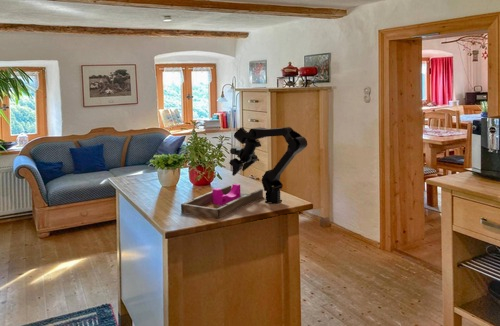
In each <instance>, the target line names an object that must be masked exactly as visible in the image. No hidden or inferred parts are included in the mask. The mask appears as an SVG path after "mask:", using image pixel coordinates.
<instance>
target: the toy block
mask: <svg viewBox="0 0 500 326" xmlns="http://www.w3.org/2000/svg"><path fill="white" fill-rule="evenodd" d="M231 187H232V189H231V191H230V192H229V193H228V194H226V195H224V194H223V193H222V189H221V188H218V187H216V188H212V191H213V201H212V203H213V204H214V205H218V206H224V205H226V203H229V202H231V201H233V200H235V199H238V198H240V197H241V193H242V192H241V184H238V183H233V184H232V185H231Z"/></svg>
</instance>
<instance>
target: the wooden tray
mask: <svg viewBox="0 0 500 326" xmlns="http://www.w3.org/2000/svg"><path fill="white" fill-rule="evenodd" d="M220 189H222V193H223V194H224V195H226V194H228V193H229V192H230V191H231V189H232V185H230V184H229V185H226V186H224V187H221V188H220ZM263 191H264V188H259V189H257V190H255V191H253V192H251V193H242V192H241V197H240V198H238V199H235V200H233V201H231V202H229V203H226V204H225V205H221V206H220V207H218V208H215V207H214V208H213V207H210V206H209V207H208V206H203V205H206V204H208V203H210V202H213V190H212V191H209V192H206V193H205V194H204V193H203V194H201V195H199V196H196V197H194V198H192V199H191V200H188V201H185V202H183V203H181V204H180V209H181V210H180V211H181V213H182V214H189V215H195V216H199V217H200V216H201V217H207V218H211V219H218V220H219V219H220V218H222V217H224V216H226V215H229V214H230V213H232V212H235V211H237V210H239V209H241V208H242V207H245V206H246V205H247V206H248V205H249V204H251V203H253V202H255V201H257V200H259V199H261V198H263V197H264V192H263Z"/></svg>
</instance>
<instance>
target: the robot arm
mask: <svg viewBox="0 0 500 326" xmlns="http://www.w3.org/2000/svg"><path fill="white" fill-rule="evenodd" d="M281 136H283V138H284V140H285V142H286V144H288V145H287V148H286V152H285V153H283V155H282V156H281V158H280V159H279V160H278V161H277V163H276V164H275V165H274V167H273V168H272V169H269V170H266V171H265V172H264V174H263V175H262V176H261V177H262V178H261V180H260V181H261V184H262V186H263V191H264V192H265V200H264V202H265V203H267V204H273V205H275V204H276V205H277V204H279V203H281V202H282V201H283V200H282V199H281V190H282V189H283V183H282V182H281V181H280V180H281V175H282V173H283V172H284V171H285V169H286V168H287V167H288V166H289V164H290V163H291V162H292V160H293V159H294V158H295V157H296V156H297V155H298V154H299V153H301V152H302V151H303V150H305V149H306V148H307V146H308V141H307V139H306V137H304V136H302V135H301V134H300V133H299V132H298V131H295V130H294V129H293V128H292V127H291V126H286V127H285V126H283V127H276V128H275V127H274V128H266V127H260V126H259V127H254V128H249V130H248V131H247V130H246V129H245V128H244V127H241V126H240V127H239V128H238V129H237V130H236V131H235V132H234V134H233V138H234V139H235V140H237V141H238V142H239V143H240V144H242V145H244V146H243V147H241V146H237V145H235V146H233V147H231V148H230V150H229V153H230V154H231V155H235V156H237V157H235V158H232V159H230V160H229V161H228V162H229V163H228V164H229V165H230V166H231V168H232V174H231V175H232V176H233V177H235V176H236V175H237V174H238V173H239V172H240V171H242V172H245V171H246V170H248V168H250V167H251V166H252V165H253V164H255V162H257V161H258V159H259V157H258V155H256V152H255V150H256V149H257V148H259V147H260V148H261V147H262V144H261V141H258V140H260V139H264V138H267V137H281Z"/></svg>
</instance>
